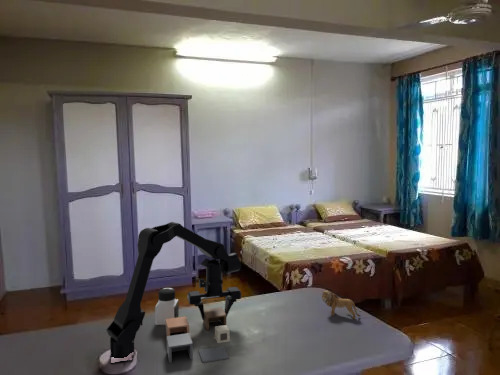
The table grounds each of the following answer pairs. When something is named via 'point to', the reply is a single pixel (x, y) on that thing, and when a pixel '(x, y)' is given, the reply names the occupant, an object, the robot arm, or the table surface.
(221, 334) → the cream cube
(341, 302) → the lion figurine
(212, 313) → the box
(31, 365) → the table surface
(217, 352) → the slate pad
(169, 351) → the grey box
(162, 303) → the medicine bottle
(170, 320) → the terracotta block
